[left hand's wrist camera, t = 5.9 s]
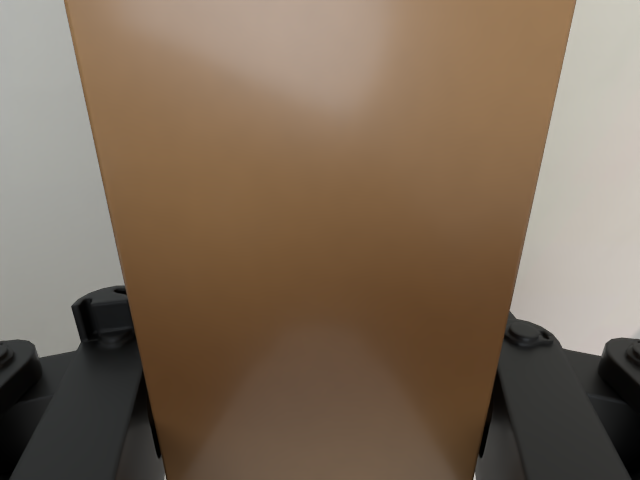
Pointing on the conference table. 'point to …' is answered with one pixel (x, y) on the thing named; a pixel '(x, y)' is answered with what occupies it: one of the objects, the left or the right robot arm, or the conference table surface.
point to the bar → (319, 219)
